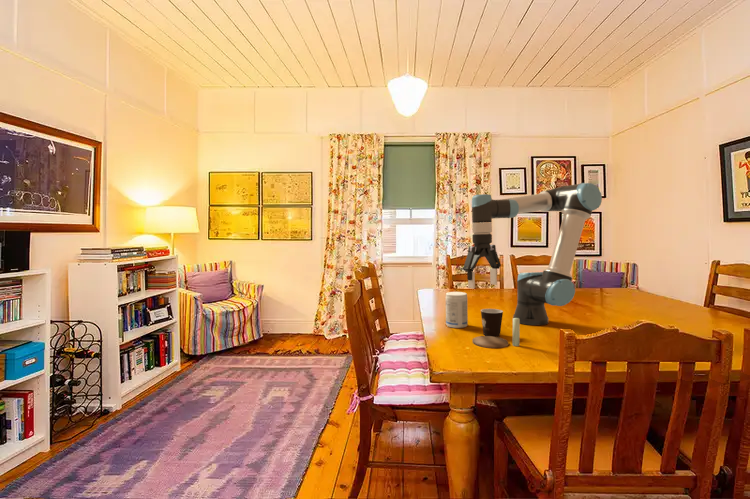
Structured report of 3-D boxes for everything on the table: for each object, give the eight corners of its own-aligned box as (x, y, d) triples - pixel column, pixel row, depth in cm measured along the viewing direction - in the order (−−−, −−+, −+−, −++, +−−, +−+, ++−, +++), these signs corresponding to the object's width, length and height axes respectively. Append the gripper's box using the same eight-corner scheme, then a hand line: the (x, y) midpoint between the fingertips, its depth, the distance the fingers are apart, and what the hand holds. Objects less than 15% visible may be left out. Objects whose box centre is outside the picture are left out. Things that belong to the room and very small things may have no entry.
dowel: (516, 344, 145) (516, 317, 144) (520, 345, 143) (521, 319, 142) (511, 344, 144) (511, 318, 143) (515, 346, 142) (515, 319, 141)
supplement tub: (461, 322, 178) (462, 291, 178) (471, 327, 169) (471, 294, 168) (442, 324, 176) (442, 292, 176) (450, 329, 167) (450, 295, 166)
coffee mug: (504, 338, 152) (504, 313, 152) (481, 337, 154) (481, 312, 153) (500, 330, 163) (500, 307, 163) (479, 330, 165) (479, 306, 165)
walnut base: (493, 336, 155) (493, 334, 155) (515, 345, 143) (515, 343, 143) (465, 340, 150) (465, 338, 150) (486, 349, 138) (486, 347, 138)
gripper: (494, 232, 164) (494, 281, 166) (453, 234, 150) (454, 288, 151) (509, 232, 158) (509, 283, 159) (468, 234, 144) (469, 291, 145)
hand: (482, 286), depth 155 cm, fingers open, 13 cm apart
